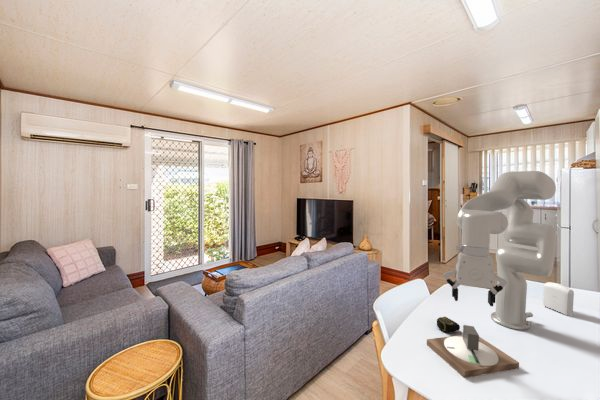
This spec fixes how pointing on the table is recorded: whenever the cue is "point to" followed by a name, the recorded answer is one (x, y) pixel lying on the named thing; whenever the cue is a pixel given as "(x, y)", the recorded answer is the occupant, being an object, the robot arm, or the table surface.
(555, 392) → the table surface
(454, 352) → the dial face
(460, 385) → the table surface
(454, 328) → the tape measure
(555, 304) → the photo printer
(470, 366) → the tuner board
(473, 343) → the grey mallet
